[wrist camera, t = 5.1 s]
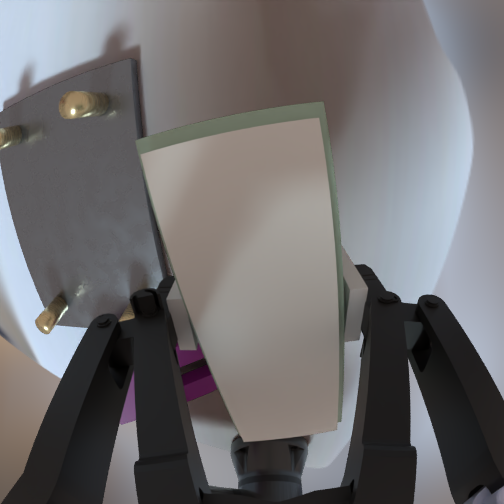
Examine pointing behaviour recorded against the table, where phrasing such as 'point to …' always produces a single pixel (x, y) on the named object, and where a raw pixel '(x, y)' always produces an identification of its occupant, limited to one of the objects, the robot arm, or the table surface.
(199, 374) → the mounting bracket
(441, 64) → the table surface
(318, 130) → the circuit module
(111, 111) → the chassis plate
